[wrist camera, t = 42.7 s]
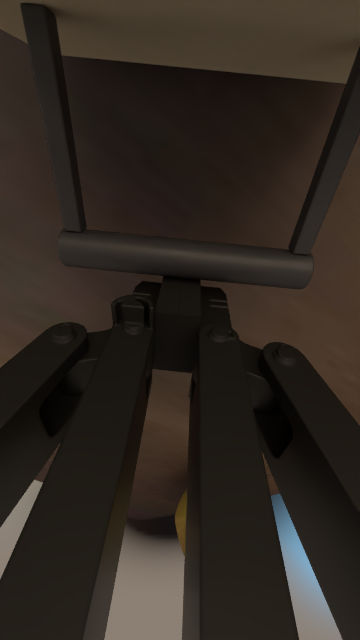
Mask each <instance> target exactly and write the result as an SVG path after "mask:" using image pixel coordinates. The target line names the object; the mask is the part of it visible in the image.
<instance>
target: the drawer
mask: <svg viewBox="0 0 360 640" xmlns="http://www.w3.org/2000/svg"><path fill="white" fill-rule="evenodd" d="M0 29H1V30H3V31H5V32H7V33H8V34H10V35H12V36H14V37H16V38H18V39H20V40H21V41H23V42H25V43H27V44H28V48H29V53H30V58H31V63H32V68H33V73H34V78H35V84H36V89H37V94H38V99H39V104H40V109H41V114H42V119H43V124H44V129H45V134H46V139H47V144H48V149H49V154H50V159H51V164H52V169H53V174H54V179H55V184H56V189H57V194H58V199H59V204H60V209H61V214H62V219H63V224H64V229H62V230H61V232H60V234H59V237H58V254H59V258H60V260H61V262H62V263H63V264H64V265H65V266H69V267H79V268H89V269H99V270H109V271H119V272H129V273H139V274H150V275H160V276H170V277H180V278H190V279H200V280H210V281H220V282H230V283H240V284H250V285H260V286H270V287H280V288H290V289H303V288H305V287H306V286H307V285H308V283H309V282H310V280H311V277H312V274H313V270H314V259H313V256H312V254H311V253H310V252H311V249H312V247H313V244H314V242H315V239H316V237H317V235H318V232H319V230H320V227H321V225H322V223H323V220H324V218H325V215H326V213H327V210H328V208H329V206H330V203H331V201H332V198H333V196H334V194H335V191H336V189H337V186H338V184H339V181H340V179H341V177H342V174H343V172H344V169H345V167H346V165H347V162H348V160H349V157H350V155H351V152H352V150H353V148H354V145H355V143H356V140H357V138H358V135H359V133H360V0H0ZM62 55H64V56H74V57H84V58H94V59H104V60H114V61H124V62H134V63H144V64H154V65H165V66H175V67H185V68H195V69H205V70H215V71H225V72H235V73H245V74H255V75H265V76H275V77H285V78H295V79H305V80H315V81H325V82H335V83H345V84H346V86H345V88H344V91H343V94H342V97H341V100H340V103H339V105H338V108H337V111H336V114H335V117H334V120H333V122H332V125H331V128H330V131H329V134H328V137H327V139H326V142H325V145H324V148H323V151H322V154H321V156H320V159H319V162H318V165H317V168H316V171H315V173H314V176H313V179H312V182H311V185H310V188H309V190H308V193H307V196H306V199H305V202H304V204H303V207H302V210H301V213H300V216H299V219H298V221H297V224H296V227H295V230H294V233H293V236H292V238H291V241H290V244H289V249H290V250H287V249H277V248H267V247H257V246H247V245H237V244H227V243H217V242H207V241H196V240H186V239H176V238H166V237H156V236H146V235H136V234H126V233H116V232H106V231H96V230H86V229H85V228H86V220H85V213H84V206H83V199H82V193H81V186H80V179H79V172H78V165H77V158H76V151H75V145H74V138H73V131H72V124H71V117H70V110H69V103H68V97H67V90H66V83H65V76H64V69H63V62H62Z"/></svg>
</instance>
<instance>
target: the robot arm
mask: <svg viewBox="0 0 360 640" xmlns="http://www.w3.org/2000/svg"><path fill="white" fill-rule="evenodd" d="M111 309H112V318H113V326H112V328H111V329H108V330H105V331H100V332H91V333H87V330H86V329H85V327H84V326H82V325H80V324H78V323H72V322H67V323H60V324H57V325H54V326H52V327H50V328H49V329H47V330H46V331H44V332H43V333H42V334H41V335H39V336H38V337H37V338H36V339H35V340H33V341H32V342H31V343H30V344H29V345H27V346H26V347H25V348H24V349H23V350H21V351H20V352H19V353H18V354H16V355H15V356H14V357H13V358H12V359H10V360H9V361H8V362H7V363H6V364H4V365H3V366H2V367H1V368H0V527H1V526H2V524H3V523H4V521H5V520H6V519H7V517H8V516H9V514H10V513H11V512H12V510H13V508H14V507H15V506H16V505H17V503H18V502H19V500H20V499H21V497H22V496H23V495H24V493H25V492H26V490H27V489H28V487H29V486H30V485H31V483H32V482H33V480H34V479H35V478H36V476H37V475H38V473H39V472H40V471H41V469H42V468H43V466H44V465H45V464H46V462H47V461H48V459H49V458H50V456H51V455H52V454H53V452H54V451H55V449H56V448H57V447H58V445H59V444H60V442H61V441H62V442H61V444H60V446H59V448H58V451H57V453H56V455H55V457H54V460H53V462H52V464H51V466H50V469H49V471H48V473H47V475H46V478H45V480H44V482H43V484H42V487H41V489H40V491H39V494H38V496H37V498H36V500H35V503H34V505H33V507H32V509H31V512H30V514H29V516H28V518H27V521H26V523H25V525H24V527H23V530H22V532H21V534H20V537H19V539H18V541H17V543H16V545H15V548H14V550H13V552H12V555H11V557H10V559H9V561H8V564H7V566H6V568H5V570H4V572H3V575H2V577H1V579H0V640H104V637H105V632H106V627H107V621H108V616H109V610H110V605H111V600H112V594H113V589H114V583H115V578H116V572H117V567H118V562H119V555H120V551H121V545H122V540H123V535H124V529H125V524H126V518H127V513H128V507H129V502H130V497H131V491H132V486H133V480H134V475H135V470H136V464H137V459H138V453H139V448H140V442H141V437H142V432H143V426H144V421H145V415H146V410H147V405H148V399H149V394H150V388H151V383H152V370H153V369H158V370H168V371H178V372H188V373H192V379H191V385H190V390H189V396H188V397H190V415H189V446H188V476H187V506H186V536H185V566H184V596H183V599H184V600H183V628H182V640H299V637H298V632H297V627H296V622H295V617H294V611H293V606H292V602H291V596H290V592H289V586H288V581H287V576H286V571H285V566H284V561H283V556H282V552H281V546H280V541H279V536H278V531H277V526H276V522H275V516H274V511H273V506H272V501H271V496H270V491H269V486H268V481H267V476H266V471H265V466H264V461H263V456H262V452H263V454H264V457H265V459H266V461H267V464H268V466H269V468H270V471H271V473H272V475H273V478H274V480H275V482H276V485H277V487H278V489H279V492H280V494H281V496H282V499H283V501H284V503H285V506H286V508H287V510H288V513H289V515H290V517H291V520H292V522H293V524H294V527H295V529H296V531H297V534H298V536H299V538H300V541H301V543H302V545H303V548H304V550H305V552H306V555H307V557H308V559H309V562H310V564H311V566H312V569H313V571H314V573H315V576H316V578H317V580H318V583H319V585H320V587H321V590H322V592H323V594H324V597H325V599H326V602H327V604H328V606H329V608H330V611H331V613H332V615H333V618H334V620H335V623H336V625H337V627H338V629H339V632H340V634H341V636H342V639H343V640H360V426H359V424H358V423H357V422H356V421H355V419H354V418H353V417H352V416H351V414H350V413H349V412H348V411H347V409H346V408H345V407H344V405H343V404H342V403H341V402H340V400H339V399H338V398H337V397H336V395H335V394H334V393H333V392H332V390H331V389H330V388H329V387H328V385H327V384H326V383H325V381H324V380H323V379H322V378H321V376H320V375H319V374H318V373H317V371H316V370H315V369H314V368H313V366H312V365H311V364H310V363H309V361H308V360H307V359H306V357H305V356H304V355H303V354H302V353H301V352H300V351H299V350H298V349H296V348H294V347H292V346H291V345H288V344H285V343H280V342H273V343H269V344H267V345H266V346H265V347H264V348H263V350H262V349H259V348H256V347H253V346H250V345H248V344H245V343H244V342H242V341H240V340H239V337H238V334H237V332H235V331H234V330H233V329H232V327H231V321H230V315H229V310H228V304H227V298H226V294H225V293H224V292H223V291H222V290H221V288H214V287H204V286H201V284H200V279H190V278H180V277H170V276H163V280H162V283H157V282H147V281H142V282H141V283H139V284H138V285H137V286H136V287H135V289H134V292H133V294H132V295H127V296H123V297H120V298H118V299H116V300H114V301H113V302H112V304H111ZM261 450H262V451H261Z"/></svg>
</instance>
